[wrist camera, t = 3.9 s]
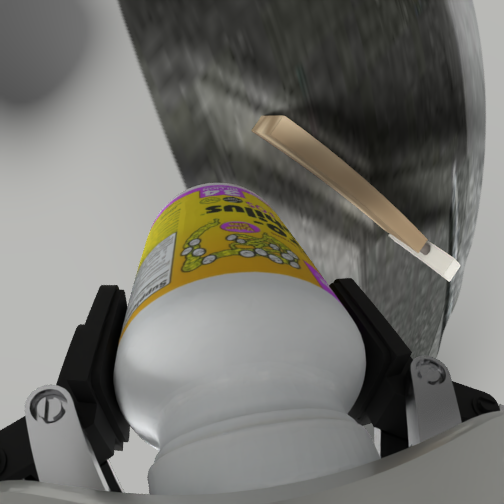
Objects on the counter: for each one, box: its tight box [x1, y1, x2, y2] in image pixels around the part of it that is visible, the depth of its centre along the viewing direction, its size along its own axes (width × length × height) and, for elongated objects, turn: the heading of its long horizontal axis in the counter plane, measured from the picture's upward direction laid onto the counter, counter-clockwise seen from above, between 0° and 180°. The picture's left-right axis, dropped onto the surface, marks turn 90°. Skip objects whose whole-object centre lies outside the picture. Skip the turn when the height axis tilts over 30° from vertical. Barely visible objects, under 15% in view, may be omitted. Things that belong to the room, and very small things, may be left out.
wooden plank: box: [252, 116, 431, 255], centre depth 23 cm, size 2×18×6 cm, turn 56°
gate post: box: [388, 234, 460, 282], centre depth 26 cm, size 2×2×9 cm
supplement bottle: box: [113, 183, 381, 495], centre depth 10 cm, size 7×7×13 cm
